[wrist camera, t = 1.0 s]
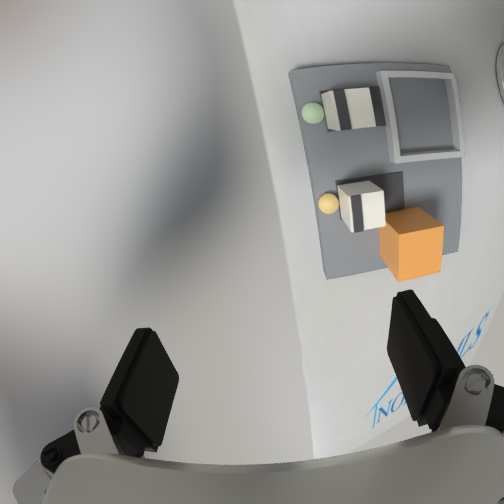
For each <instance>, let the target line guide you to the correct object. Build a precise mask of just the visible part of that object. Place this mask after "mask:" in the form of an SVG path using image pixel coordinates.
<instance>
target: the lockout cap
mask: <svg viewBox="0 0 504 504" xmlns="http://www.w3.org/2000/svg"><path fill="white" fill-rule="evenodd" d="M385 223H386V226H384V227H379V242H380V257H381V258H382V259H383V261H384V262H385V264H386V265H387V267H388V268H389V269H390V271H391V272H392V274H393V275H394V277H395V278H396V280H397V281H398V282H401V281H405V280H409V279H413V278H417V277H422V276H426V275H430V274H433V273H437V272H440V269H441V260H442V249H443V235H444V225H442V224H441V223H440V222H438V221H437V220H436V219H434V218H433V217H432V216H430V215H429V214H428V213H426V212H425V211H424V210H422V209H421V208H419V207H414V208H408V209H402V210H396V211H390V212H385Z"/></svg>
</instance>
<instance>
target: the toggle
mask: <svg viewBox="0 0 504 504" xmlns="http://www.w3.org/2000/svg"><path fill="white" fill-rule="evenodd" d="M321 97H322V102H323V106H324V111H325V116H326V121H327V126H328V129H332V130H336V131H342V130H350V129H357V128H367V127H376V123H375V117H374V111H373V106H372V100H371V95H370V90H369V88H354V89H341V90H333V91H328V92H326V93H323V94H321Z"/></svg>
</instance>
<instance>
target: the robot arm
mask: <svg viewBox="0 0 504 504" xmlns="http://www.w3.org/2000/svg"><path fill="white" fill-rule="evenodd" d="M496 69H497V79H498V85H499V89H500V93H501V96H502V99H503V102H504V44H503V45H502V46H501V47H500V49H499V51H498V56H497V65H496ZM387 352H388V356H389V358H390V361H391V363H392V366H393V368H394V371H395V373H396V376H397V379H398V381H399V384H400V387H401V389H402V392H403V395H404V397H405V400H406V403H407V406H408V409H409V411H410V414H411V417H412V419H413V421H416V420H417V422H418V425H419V427H420V426H423V425H426V424H428V426H429V428H430V429H431V432H430V433H428V434H425V435H421V436H417V437H414V438H411V439H408V440H404V441H400V442H397V443H393V444H389V445H385V446H381V447H377V448H373V449H369V450H364V451H360V452H355V453H350V454H345V455H340V456H334V457H328V458H321V459H314V460H306V461H297V462H287V463H274V464H254V465H216V464H215V465H214V464H194V463H181V462H171V461H162V460H154V459H146V458H145V457H144V451H150V452H157V449H158V446H160V445H161V444H162V441H163V437H164V434H165V430H166V426H167V422H168V418H169V414H170V411H171V407H172V403H173V400H174V396H175V393H176V389H177V385H178V382H179V375H178V373H177V371H176V369H175V368H174V366H173V364H172V362H171V360H170V358H169V356H168V354H167V353H166V351H165V349H164V347H163V345H162V343H161V341H160V339H159V337H158V335H157V333H156V332H155V331H152V329H151V328H138V329H136V330H135V332H134V334H133V336H132V338H131V339H130V341H129V343H128V345H127V347H126V350H125V351H124V354H123V355H122V357H121V360H120V362H119V363H118V366H117V368H116V370H115V372H114V374H113V376H112V378H111V380H110V382H109V384H108V387H107V389H106V391H105V393H104V395H103V397H102V400H101V402H100V405H101V407H100V409H98V408H95V407H89V408H86V409H84V410H82V411H81V412H80V413H79V414H78V415H77V416H76V418H75V420H74V430H72V431H71V432H69V433H68V434H65V435H64V436H62V437H60V438H58V439H56V440H55V441H53V442H51V443H49V444H48V445H46V446H45V447H44V449H43V450H42V453H41V457H40V458H41V462H39V461H36V462H35V463H34V464H33V465H32V466H31V467H30V468H29V469H28V470H27V471H26V472H25V473H24V474H23V475H22V476H21V477H20V478H19V479H18V480H17V481H16V482H15V483H14V487H13V493H14V496H15V498H16V500H17V502H18V504H504V387H501V386H498V385H496V384H494V378H493V375H492V374H491V372H490V371H489V370H488V369H487V368H485V367H483V366H480V365H471V366H468V367H465V365H464V363H463V361H462V360H461V358H460V356H459V355H458V353H457V351H456V350H455V348H454V346H453V345H452V343H451V341H450V340H449V338H448V337H447V335H446V333H445V332H444V330H443V329H442V327H441V326H440V324H439V323H438V321H437V320H436V319H434V318H431V317H430V315H429V314H428V312H427V311H426V309H425V308H424V306H423V305H422V303H421V302H420V300H419V299H418V297H417V296H416V294H415V293H414V291H413V290H406V291H402V292H398V293H397V296H396V297H393V301H392V312H391V321H390V329H389V337H388V344H387Z"/></svg>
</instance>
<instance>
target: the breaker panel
mask: <svg viewBox="0 0 504 504" xmlns="http://www.w3.org/2000/svg"><path fill="white" fill-rule="evenodd" d="M288 75H289V79H290V83H291V87H292V91H293V96H294V100H295V105H296V109H297V114H298V118H299V123H300V128H301V132H302V137H303V142H304V148H305V153H306V158H307V163H308V169H309V174H310V180H311V186H312V192H313V198H314V204H315V211H316V217H317V224H318V231H319V238H320V246H321V254H322V262H323V270H324V273H325V276H326V279H327V280H328V279H333V278H338V277H344V276H349V275H354V274H359V273H364V272H369V271H373V270H378V269H383V268H388V267H387V265H386V264H385V262H384V261H383V259H382V258H381V257H380V242H379V227H378V228H373V229H367V230H364V231H362V232H357V233H354V232H351V231H350V230H349V228H348V227H347V225H346V224H345V222H344V221H343V219H342V218H341V211H340V203H339V195H338V187H337V185H343V184H349V183H356V182H362V181H371V182H372V183H373V184H375V185H376V186H378V187H379V188H381V189H382V190H383V191H384V204H385V212H390V211H396V210H402V209H408V208H414V207H419V208H421V209H422V210H424V211H425V212H426V213H428V214H429V215H430V216H432V217H433V218H434V219H436V220H437V221H438V222H440V223H441V224H442V225H444V235H443V249H442V255H445V254H450V253H454V252H458V247H459V236H460V223H461V203H462V166H461V157H465V149H464V135H463V124H462V116H461V108H460V101H459V94H458V88H457V83H456V78H455V74H453V73H451V72H450V67H449V66H443V65H432V64H415V63H360V64H343V65H331V66H321V67H312V68H304V69H297V70H290V72H289V73H288ZM354 88H369V90H370V95H371V100H372V106H373V111H374V117H375V123H376V127H367V128H357V129H350V130H342V131H336V130H332V129H328V126H327V121H326V116H325V111H324V106H323V102H322V97H321V94H323V93H326V92H328V91H333V90H341V89H354Z"/></svg>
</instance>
